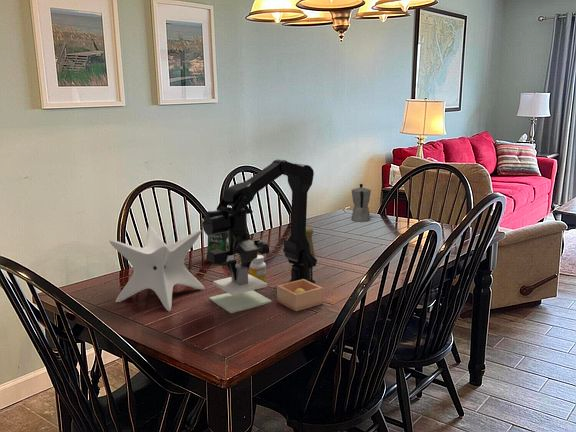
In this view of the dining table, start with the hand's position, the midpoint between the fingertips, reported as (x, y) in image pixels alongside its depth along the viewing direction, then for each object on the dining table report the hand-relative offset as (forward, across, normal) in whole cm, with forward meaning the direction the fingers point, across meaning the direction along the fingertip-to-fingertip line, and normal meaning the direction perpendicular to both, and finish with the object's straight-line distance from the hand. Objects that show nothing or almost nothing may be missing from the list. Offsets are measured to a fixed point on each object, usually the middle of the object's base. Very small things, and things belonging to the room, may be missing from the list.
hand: (239, 279), depth 166 cm
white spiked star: (+7, -18, +19) cm, 27 cm away
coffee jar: (+7, +14, +40) cm, 43 cm away
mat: (+7, 0, 0) cm, 7 cm away
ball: (+4, +14, -12) cm, 19 cm away
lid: (+2, 0, 0) cm, 2 cm away
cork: (+7, +45, +27) cm, 53 cm away
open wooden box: (+7, +14, -12) cm, 20 cm away
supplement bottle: (+7, +12, +9) cm, 17 cm away
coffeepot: (+8, +100, +57) cm, 115 cm away
